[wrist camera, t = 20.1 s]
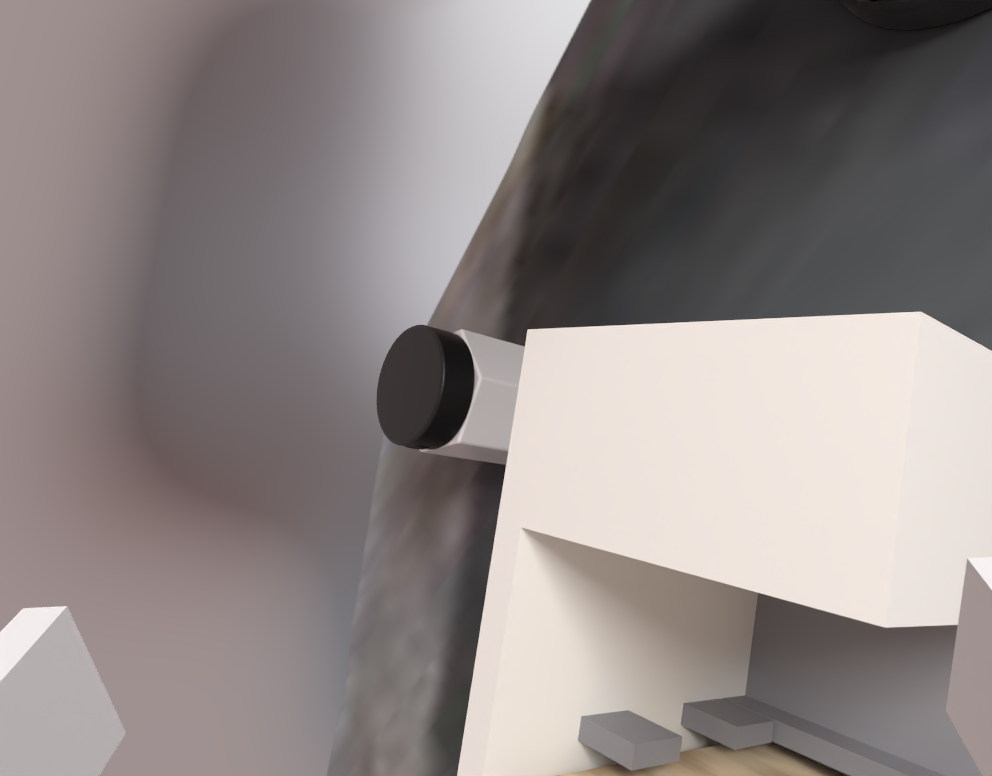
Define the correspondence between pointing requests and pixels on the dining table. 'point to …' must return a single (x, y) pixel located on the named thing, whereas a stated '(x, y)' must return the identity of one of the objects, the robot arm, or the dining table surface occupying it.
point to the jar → (450, 393)
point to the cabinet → (734, 545)
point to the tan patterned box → (724, 764)
